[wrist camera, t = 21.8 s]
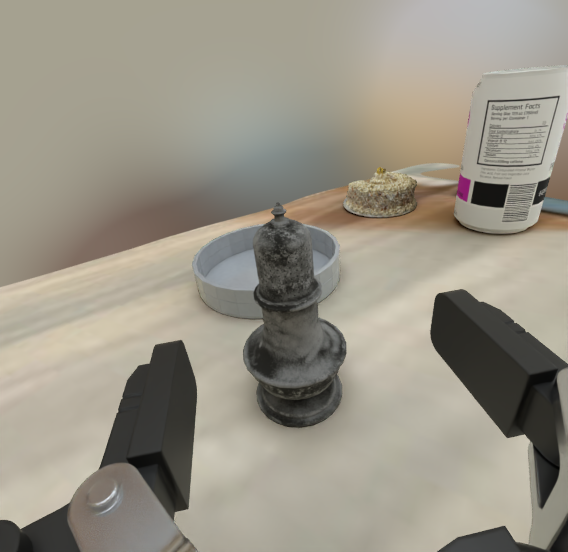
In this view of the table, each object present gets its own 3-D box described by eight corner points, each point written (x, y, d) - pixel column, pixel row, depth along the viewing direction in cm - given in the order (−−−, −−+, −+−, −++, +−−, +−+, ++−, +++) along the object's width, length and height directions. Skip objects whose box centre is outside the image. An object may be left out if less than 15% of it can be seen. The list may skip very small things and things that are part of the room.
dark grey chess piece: (352, 361, 23) (351, 182, 17) (340, 440, 18) (334, 229, 12) (268, 351, 25) (241, 185, 19) (237, 422, 20) (186, 228, 14)
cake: (428, 202, 48) (436, 163, 45) (395, 228, 42) (401, 185, 39) (366, 188, 54) (369, 153, 51) (328, 209, 48) (329, 171, 45)
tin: (188, 328, 28) (179, 300, 26) (208, 253, 40) (203, 231, 38) (356, 307, 28) (356, 277, 27) (326, 239, 40) (325, 216, 39)
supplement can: (437, 218, 42) (456, 76, 34) (490, 204, 44) (519, 67, 36) (494, 242, 35) (533, 72, 27) (554, 225, 37) (605, 62, 30)
